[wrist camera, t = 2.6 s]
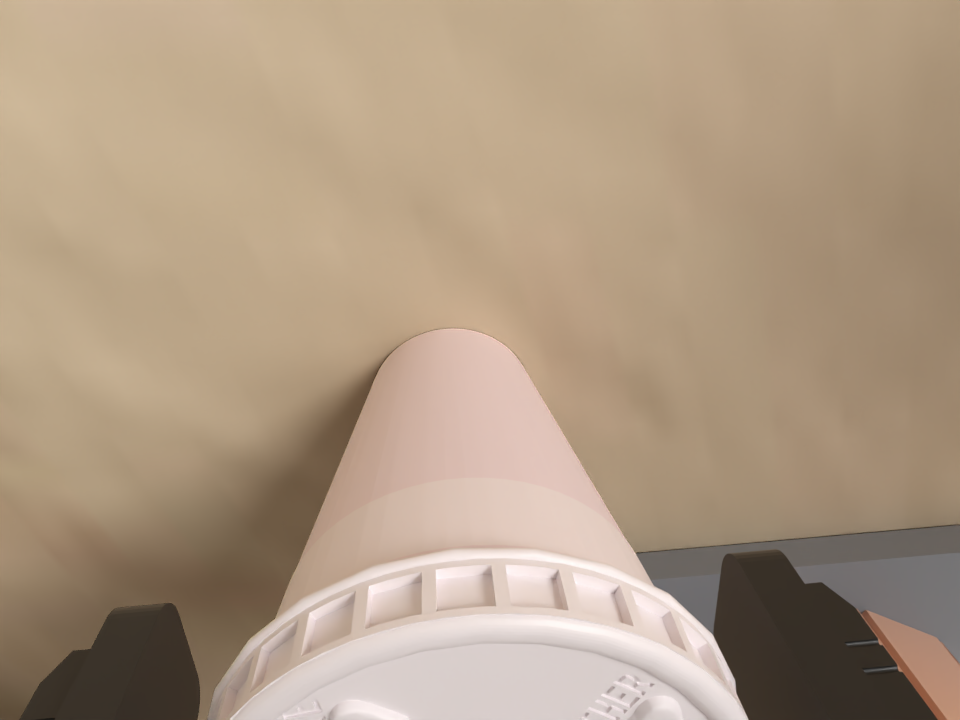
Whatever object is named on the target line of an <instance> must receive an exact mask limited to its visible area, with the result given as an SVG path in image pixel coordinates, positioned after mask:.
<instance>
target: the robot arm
mask: <svg viewBox="0 0 960 720" xmlns="http://www.w3.org/2000/svg"><path fill="white" fill-rule="evenodd" d="M713 636H714V638H715V640H716V642H717V645H718V647H719V649H720V651H721V653H722V655H723V657H724V659H725V661H726V663H727V665H728V667H729V669H730V671H731V673H732V675H733V677H734V679H735V682H736V694H737V696H738V698H739V700H740V702H741V704H742V707H743V709H744V711H745V713H746V715H747V717H748V720H938V719H937V718H936V716H935V715H934V714H933V712H932V711H931V710H930V708H929V707H928V705H927V704H926V703H925V701H924V700H923V699H922V697H921V696H920V695H919V693H918V692H917V691H916V689H915V688H914V687H913V685H912V684H911V682H910V681H909V680H908V678H907V677H906V676H905V674H904V673H903V672H899V670H898V667H897V663H896V662H895V661H894V659H893V658H892V657H891V655H890V654H889V653H888V651H887V650H886V649H885V647H884V646H883V645H880V644H879V642H878V638H877V636H876V635H875V634H874V632H873V631H872V630H871V628H870V627H869V626H868V624H867V623H866V621H865V620H864V619H863V617H862V616H861V615H860V613H859V612H858V611H857V609H856V608H855V607H854V606H853V605H851V604H850V603H849V602H847V601H846V600H845V599H843V598H842V597H841V596H839V595H838V594H837V593H835V592H834V591H833V590H831V589H830V588H829V587H827V586H826V585H825V584H823V583H822V582H817V583H807V584H805V583H804V582H803V580H802V579H801V578H800V576H799V575H798V573H797V572H796V570H795V569H794V567H793V566H792V564H791V563H790V561H789V560H788V558H787V557H786V556H785V555H784V554H783V553H782V552H781V551H780V550H777V549H772V550H761V551H750V552H740V553H729V554H726V555H725V556H724V558H723V561H722V566H721V574H720V582H719V589H718V597H717V605H716V613H715V620H714V629H713ZM199 704H200V686H199V678H198V674H197V671H196V668H195V665H194V661H193V658H192V655H191V652H190V649H189V645H188V642H187V639H186V636H185V633H184V629H183V626H182V623H181V620H180V617H179V613H178V611H177V609H176V607H175V606H174V605H173V604H171V603H164V604H153V605H142V606H131V607H121V608H116V609H114V610H113V611H112V612H111V613H110V614H109V615H108V617H107V619H106V621H105V623H104V624H103V626H102V628H101V630H100V632H99V634H98V636H97V638H96V640H95V642H94V644H93V646H92V648H91V649H87V650H76V651H72V652H71V653H70V654H69V655H68V656H67V657H66V658H65V659H64V660H63V661H62V662H61V663H60V664H59V665H58V666H57V667H56V668H55V669H54V670H53V671H52V672H51V673H50V674H49V675H48V676H47V677H46V678H45V679H44V680H43V681H42V682H41V683H40V684H39V686H38V688H37V690H36V691H35V693H34V695H33V697H32V699H31V700H30V702H29V704H28V706H27V707H26V709H25V711H24V713H23V714H22V716H21V718H20V720H197V718H198V713H199Z"/></svg>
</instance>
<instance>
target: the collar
mask: <svg viewBox="0 0 960 720" xmlns="http://www.w3.org/2000/svg"><path fill="white" fill-rule="evenodd" d="M772 549H777V550H780V551H781V552H782V553H783V554H784V555H785V556H786V557H787V558H788V560H789V561H790V563H791V564H792V566H793V567H794V569H795V570H796V572H797V573H798V575H799V576H800V578H801V579H802V580H803V582H804V583H805V584H807V583H817V582H822V583H823V584H825V585H826V586H827V587H829V588H830V589H831V590H833V591H834V592H835V593H837V594H838V595H839V596H841V597H842V598H843V599H845V600H846V601H847V602H849V603H850V604H851V605H853V606H854V607H855V608H856V609H857V611H858V612H859V613H860V615H861V616H862V617H863V619H864V620H865V621H866V623H867V624H868V626H869V627H870V628H871V630H872V631H873V632H874V634H875V635H876V636H877V638H878V642H879V644H880V645H883V646H884V647H885V649H886V650H887V651H888V653H889V654H890V655H891V657H892V658H893V659H894V661H895V662H896V663H897V667H898V670H899V672H903V673H904V674H905V676H906V677H907V678H908V680H909V681H910V682H911V684H912V685H913V687H914V688H915V689H916V691H917V692H918V693H919V695H920V696H921V697H922V699H923V700H924V701H925V703H926V704H927V705H928V707H929V708H930V710H931V711H932V712H933V714H934V715H935V716H936V718H937V719H938V720H960V525H954V526H943V527H932V528H920V529H909V530H897V531H886V532H875V533H863V534H852V535H840V536H829V537H818V538H806V539H795V540H783V541H772V542H761V543H749V544H738V545H726V546H715V547H703V548H692V549H681V550H669V551H658V552H646V553H636V555H637V557H638V559H639V561H640V562H641V564H642V566H643V568H644V569H645V571H646V573H647V575H648V576H649V578H650V580H651V582H652V583H653V585H654V586H655V587H657V588H659V589H661V590H663V591H665V592H667V593H669V594H670V595H671V596H672V597H673V598H674V599H676V600H677V601H678V602H679V603H680V604H681V605H682V606H683V607H684V608H685V609H686V610H687V611H688V612H689V613H690V614H691V615H693V616H694V617H695V618H696V619H697V620H698V621H699V622H700V623H701V624H702V625H703V626H704V627H705V628H706V629H707V630H708V631H710V632H711V633H712V635H713V629H714V620H715V613H716V605H717V597H718V589H719V582H720V574H721V566H722V561H723V558H724V556H725V555H726V554H729V553H740V552H750V551H761V550H772Z"/></svg>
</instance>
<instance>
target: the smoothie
mask: <svg viewBox="0 0 960 720" xmlns="http://www.w3.org/2000/svg"><path fill="white" fill-rule="evenodd" d="M207 720H748V717H747V715H746V713H745V711H744V709H743V707H742V704H741V702H740V700H739V698H738V696H737V694H736V682H735V679H734V677H733V675H732V673H731V671H730V669H729V667H728V665H727V663H726V661H725V659H724V657H723V655H722V653H721V651H720V649H719V647H718V645H717V642H716V640H715V638H714V636H713V635H712V633H711V632H710V631H708V630H707V629H706V628H705V627H704V626H703V625H702V624H701V623H700V622H699V621H698V620H697V619H696V618H695V617H694V616H693V615H691V614H690V613H689V612H688V611H687V610H686V609H685V608H684V607H683V606H682V605H681V604H680V603H679V602H678V601H677V600H676V599H674V598H673V597H672V596H671V595H670V594H669V593H667V592H665V591H663V590H661V589H659V588H657V587H655V586H654V585H653V583H652V582H651V580H650V578H649V576H648V575H647V573H646V571H645V569H644V568H643V566H642V564H641V562H640V561H639V559H638V557H637V555H636V553H635V552H634V550H633V549H632V547H631V546H630V544H629V543H628V541H627V540H626V539H625V537H624V535H623V533H622V532H621V530H620V528H619V527H618V525H617V523H616V522H615V520H614V518H613V517H612V515H611V513H610V512H609V510H608V508H607V507H606V505H605V503H604V502H603V500H602V498H601V496H600V495H599V493H598V491H597V490H596V488H595V486H594V485H593V483H592V481H591V480H590V478H589V476H588V475H587V473H586V471H585V470H584V468H583V466H582V465H581V463H580V461H579V459H578V458H577V456H576V454H575V453H574V451H573V449H572V448H571V446H570V444H569V443H568V441H567V439H566V438H565V436H564V434H563V433H562V431H561V429H560V428H559V426H558V424H557V422H556V421H555V419H554V417H553V416H552V414H551V412H550V411H549V409H548V407H547V406H546V404H545V402H544V401H543V399H542V397H541V396H540V394H539V392H538V391H537V389H536V387H535V385H534V384H533V382H532V380H531V379H530V377H529V375H528V374H527V372H526V370H525V369H524V367H523V365H522V364H521V362H520V361H519V359H518V358H517V357H516V356H515V354H514V353H513V352H512V351H511V350H510V349H509V348H507V347H506V346H505V345H504V344H502V343H501V342H499V341H498V340H496V339H494V338H492V337H490V336H488V335H485V334H483V333H480V332H477V331H473V330H467V329H459V328H448V329H439V330H433V331H429V332H426V333H423V334H420V335H417V336H415V337H413V338H411V339H409V340H408V341H406V342H404V343H403V344H402V345H400V346H399V347H397V348H396V349H395V350H394V351H393V352H392V353H391V354H390V355H389V356H388V357H387V358H386V360H385V361H384V363H383V364H382V365H381V367H380V369H379V371H378V373H377V375H376V377H375V380H374V382H373V384H372V387H371V389H370V392H369V394H368V397H367V399H366V401H365V404H364V406H363V409H362V411H361V413H360V416H359V418H358V421H357V423H356V425H355V428H354V430H353V433H352V435H351V438H350V440H349V442H348V445H347V447H346V450H345V452H344V454H343V457H342V459H341V462H340V464H339V466H338V469H337V471H336V474H335V476H334V479H333V481H332V483H331V486H330V488H329V491H328V493H327V495H326V498H325V500H324V503H323V505H322V507H321V510H320V512H319V515H318V517H317V520H316V522H315V524H314V527H313V529H312V532H311V534H310V536H309V539H308V541H307V544H306V546H305V548H304V551H303V553H302V556H301V558H300V561H299V563H298V565H297V568H296V570H295V571H294V573H293V576H292V578H291V580H290V582H289V585H288V587H287V589H286V592H285V595H284V597H283V600H282V602H281V605H280V607H279V610H278V613H277V615H276V618H275V619H274V620H273V621H272V622H270V623H269V624H268V625H267V626H265V627H264V628H263V629H261V630H260V631H259V632H258V633H256V634H255V635H254V636H253V637H251V638H250V639H249V640H248V642H247V643H246V644H245V646H244V647H243V649H242V650H241V652H240V653H239V655H238V656H237V657H236V659H235V660H234V662H233V663H232V665H231V666H230V668H229V669H228V670H227V672H226V673H225V675H224V676H223V678H222V679H221V681H220V682H219V683H218V685H217V686H216V688H215V690H214V694H213V698H212V702H211V706H210V710H209V714H208V718H207Z"/></svg>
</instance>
